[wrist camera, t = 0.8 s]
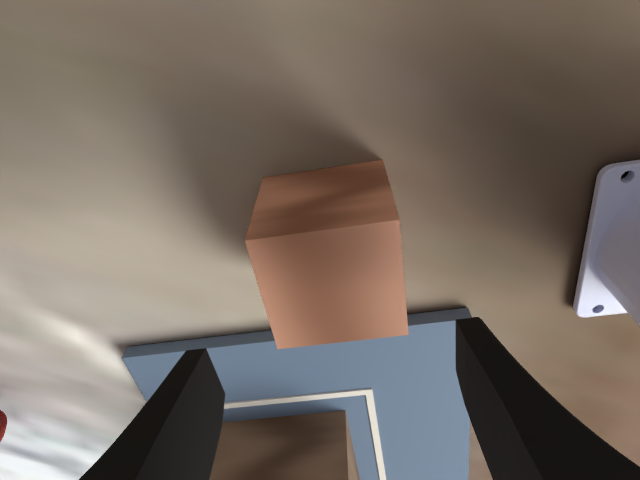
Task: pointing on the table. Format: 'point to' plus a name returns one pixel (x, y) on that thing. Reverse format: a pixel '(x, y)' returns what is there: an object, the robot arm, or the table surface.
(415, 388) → the board
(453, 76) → the table surface
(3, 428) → the toy fire truck
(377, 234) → the terracotta cube
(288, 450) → the walnut slab
